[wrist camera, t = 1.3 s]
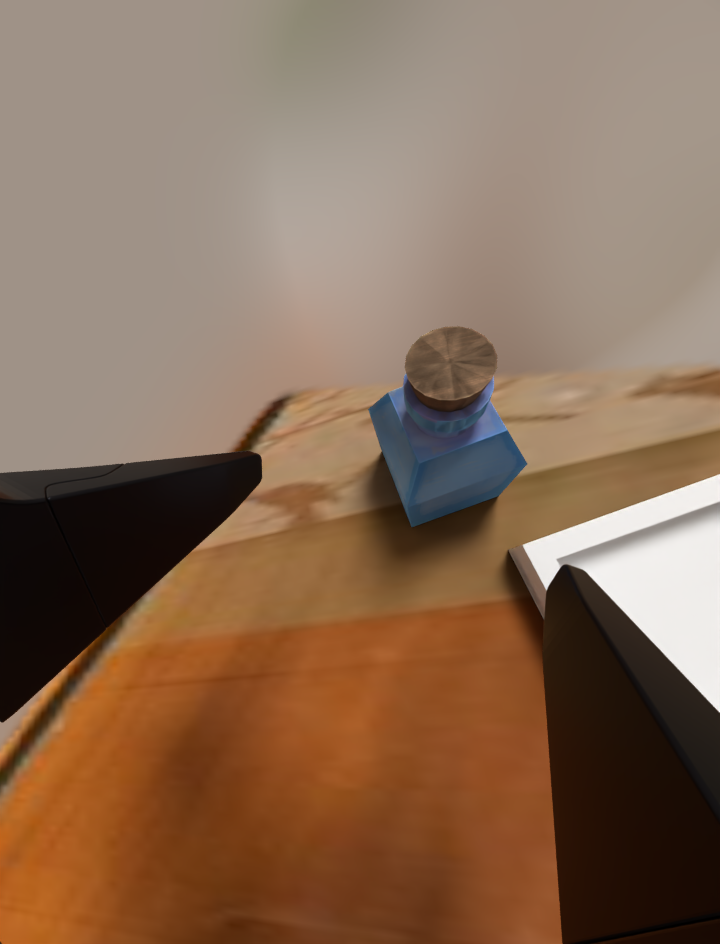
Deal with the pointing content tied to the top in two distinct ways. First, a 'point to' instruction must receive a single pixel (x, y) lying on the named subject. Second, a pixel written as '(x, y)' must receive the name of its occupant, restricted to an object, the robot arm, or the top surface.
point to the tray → (650, 573)
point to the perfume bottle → (446, 427)
